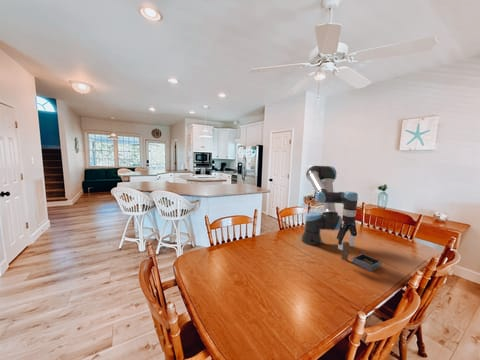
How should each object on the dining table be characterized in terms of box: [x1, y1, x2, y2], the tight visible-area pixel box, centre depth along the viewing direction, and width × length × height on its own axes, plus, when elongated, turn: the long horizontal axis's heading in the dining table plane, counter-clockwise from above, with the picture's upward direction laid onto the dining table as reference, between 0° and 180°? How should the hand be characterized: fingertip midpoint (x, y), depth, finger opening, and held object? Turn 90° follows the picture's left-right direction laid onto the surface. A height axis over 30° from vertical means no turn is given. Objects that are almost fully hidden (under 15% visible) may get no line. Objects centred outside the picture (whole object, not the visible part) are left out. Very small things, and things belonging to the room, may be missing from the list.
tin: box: [352, 253, 382, 273], centre depth 129 cm, size 12×12×4 cm
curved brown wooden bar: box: [340, 240, 350, 262], centre depth 134 cm, size 3×2×12 cm, turn 33°
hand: (346, 247), depth 133 cm, fingers open, 13 cm apart
